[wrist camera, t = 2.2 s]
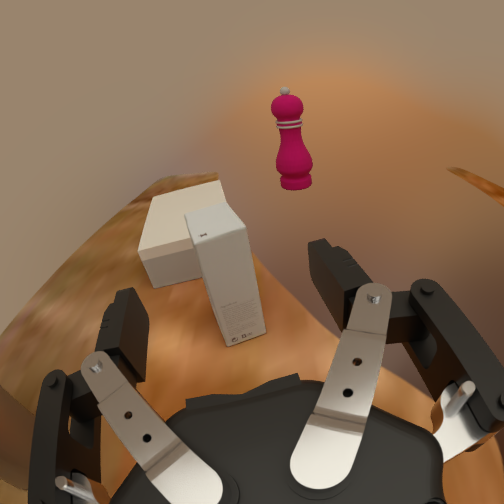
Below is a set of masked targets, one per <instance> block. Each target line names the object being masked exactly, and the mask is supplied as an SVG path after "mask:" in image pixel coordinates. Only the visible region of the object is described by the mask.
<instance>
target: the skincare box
mask: <svg viewBox="0 0 504 504" xmlns="http://www.w3.org/2000/svg"><path fill="white" fill-rule="evenodd" d="M184 217H185V221H186V224H187V228H188V231H189V235H190V238H191V242H192V245H193V249H194V252H195V255H196V258H197V262H198V265H199V268H200V271H201V274H202V278H203V281H204V284H205V287H206V290H207V293H208V296H209V300H210V303H211V306H212V309H213V312H214V314H215V317H216V320H217V322H218V325H219V328H220V330H221V333H222V335H223V338H224V340H225V343H226V345H227V346H232V345H235V344H238V343H240V342H243V341H246V340H248V339H251V338H254V337H257V336H259V335H262V334H265V333H266V328H265V322H264V317H263V312H262V307H261V302H260V296H259V291H258V285H257V280H256V275H255V270H254V265H253V259H252V254H251V249H250V244H249V238H248V233H247V228H246V226H245V225H244V223H243V222H242V221H241V220H240V218H239V217H238V216H237V215H236V213H235V212H234V211H233V210H232V209H231V208H230V206H229V205H228V204H227V202H223V203H219V204H215V205H212V206H209V207H205V208H202V209H199V210H195V211H192V212H188V213H185V214H184Z"/></svg>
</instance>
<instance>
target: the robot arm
mask: <svg viewBox="0 0 504 504" xmlns="http://www.w3.org/2000/svg"><path fill="white" fill-rule="evenodd" d="M308 255H309V268H310V275H311V278H312V281H313V283H314V285H315V287H316V288H317V290H318V292H319V294H320V295H321V297H322V299H323V301H324V302H325V304H326V306H327V307H328V309H329V311H330V313H331V315H332V316H333V318H334V320H335V322H336V323H337V325H338V327H339V329H340V331H341V332H342V335H341V338H340V341H339V344H338V347H337V350H336V353H335V356H334V359H333V362H332V364H331V367H330V370H329V373H328V375H327V378H326V381H325V382H321V381H314V380H300V378H299V375H298V373H295V374H292V375H289V376H285V377H282V378H278V379H274V380H271V381H268V382H266V383H264V384H263V385H261V386H259V387H257V388H255V389H253V390H250V391H248V392H246V393H244V394H237V395H228V394H211V395H206V396H201V397H196V398H190V399H186V408H184V409H182V410H180V411H178V412H177V413H175V414H174V415H172V416H171V417H170V418H169V419H168V420H167V421H166V422H165V421H164V420H163V419H162V418H161V416H160V415H159V414H158V413H157V412H156V411H155V410H154V409H153V408H152V407H151V406H150V404H149V403H148V402H147V401H146V400H145V399H144V398H143V397H142V395H141V394H140V393H139V392H138V391H137V390H136V383H139V382H145V377H146V360H147V346H148V334H149V317H148V314H147V312H146V310H145V308H144V306H143V304H142V302H141V300H140V299H139V297H138V295H137V293H136V291H135V289H134V288H133V287H131V288H127V289H123V290H119V291H117V293H116V296H115V300H114V303H112V304H110V305H109V306H108V308H107V309H106V311H105V312H104V315H103V319H102V323H101V327H100V328H101V329H100V331H99V335H98V339H97V343H96V347H95V352H93V353H91V354H90V355H88V356H87V357H86V358H85V359H84V361H83V363H82V365H81V370H79V371H77V372H75V373H73V374H71V375H68V376H67V375H66V374H65V373H64V372H63V371H62V370H54V371H52V372H50V373H49V374H48V375H47V376H46V377H45V378H44V380H43V383H42V387H41V391H40V396H39V401H38V406H37V411H36V417H35V416H34V415H33V414H32V413H30V412H29V411H28V410H27V409H26V408H24V407H23V406H22V405H21V404H20V403H19V402H18V401H17V400H16V399H14V398H13V397H12V396H11V395H10V394H9V393H8V392H7V391H6V390H5V389H4V388H3V387H2V386H1V385H0V479H2V480H3V481H5V482H7V483H9V484H11V485H13V486H15V487H17V488H20V489H23V490H28V504H447V502H446V500H445V497H444V493H443V484H442V473H443V464H445V463H446V462H448V461H450V460H452V459H453V458H455V457H456V456H458V455H460V454H461V453H463V452H464V451H465V452H471V451H474V450H476V449H477V448H479V447H480V446H481V445H483V444H484V443H485V442H486V441H488V440H489V439H490V438H491V437H493V436H494V435H495V434H496V433H497V432H499V431H500V430H501V429H502V428H503V427H504V368H503V366H502V365H501V363H500V362H499V360H498V359H497V358H496V356H495V355H494V353H493V352H492V350H491V349H490V348H489V346H488V345H487V343H486V342H485V341H484V340H483V338H482V337H481V335H480V334H479V333H478V331H477V330H476V329H475V327H474V326H473V325H472V324H471V322H470V321H469V320H468V319H467V317H466V316H465V315H464V313H463V312H462V311H461V310H460V308H459V307H458V306H457V305H456V304H455V302H454V301H453V300H452V299H451V298H450V297H449V295H448V294H447V293H446V292H445V291H444V290H443V288H442V287H441V286H440V285H439V284H438V283H437V282H435V281H433V280H429V279H419V280H417V281H415V282H414V283H413V284H412V285H411V289H410V291H400V292H391V291H390V290H389V288H387V287H386V286H384V285H382V284H379V283H373V282H372V280H371V279H370V278H369V276H368V275H367V274H366V273H365V272H364V271H363V269H362V268H361V267H360V266H359V265H358V264H357V262H356V261H355V260H354V259H353V258H352V256H351V255H350V254H349V253H348V251H346V250H344V249H342V248H341V247H339V246H337V247H333V248H332V247H331V245H330V244H329V243H328V242H327V240H326V239H325V238H323V239H319V240H316V241H312V242H309V243H308ZM392 343H402V344H403V346H404V347H405V349H406V351H407V353H408V354H409V356H410V358H411V359H412V361H413V363H414V365H415V366H416V368H417V370H418V372H419V373H420V375H421V377H422V379H423V381H424V382H425V384H426V386H427V388H428V390H429V392H430V393H431V395H432V397H433V399H434V401H435V404H434V406H433V407H432V410H431V420H432V423H433V432H432V433H430V432H429V431H428V430H426V429H424V428H422V427H420V426H417V425H415V424H413V423H410V422H408V421H406V420H404V419H401V418H399V417H397V416H395V415H392V414H390V413H388V412H386V411H384V410H382V409H380V408H377V407H375V406H373V405H371V404H372V400H373V396H374V392H375V388H376V384H377V380H378V376H379V371H380V367H381V362H382V357H383V353H384V347H385V344H392ZM101 415H103V416H104V417H105V419H106V420H107V422H108V423H109V425H110V426H111V428H112V429H113V430H114V432H115V433H116V435H117V436H118V437H119V439H120V440H121V442H122V443H123V444H124V446H125V447H126V448H127V450H128V451H129V452H130V453H131V455H132V456H133V457H134V459H135V460H136V461H137V463H136V464H135V466H134V467H133V469H132V470H131V472H130V473H129V474H128V476H127V477H126V479H125V480H124V481H123V483H122V484H121V486H120V487H119V488H118V490H117V491H116V493H115V494H114V495H113V497H112V498H110V497H109V495H108V492H107V490H106V488H105V487H104V486H103V485H102V484H101V466H100V436H101ZM69 416H71V426H70V434H69V432H68V420H69Z"/></svg>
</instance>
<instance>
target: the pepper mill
mask: <svg viewBox="0 0 504 504" xmlns="http://www.w3.org/2000/svg"><path fill="white" fill-rule="evenodd" d="M280 93H281V94H282V95H281V96H278V97H277V98H275V99H274V100H273V102H272V104H271V111H272V113H273V115H274V116H275V117H276V118H277V121H276V123H277V126H276V127H277V128H279V131H280V135H281V145H280V148H279V152H278V155H277V159H276V168H277V171H278V172H279V173H280V174H281V175H282V176H281V178H280V181H281V186H282V188H284V189H286V190H302V189H305V188H308V187H309V186H311V184H312V180H311V175H310V174H309V172H310V170H311V169H312V166H313V163H312V158H311V156H310V154H309V152H308V150H307V149H306V147H305V145H304V143H303V140H302V136H301V126H302V125H303V124H302V119H301V118H300V116H301V114H302V113H303V104H302V101H301V100H300V99H299V98H298V97H296V96H294V95H288V94H289V93H290V90H289V89H288V88H287V87H282V88H281V89H280Z"/></svg>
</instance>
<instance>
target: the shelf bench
mask: <svg viewBox="0 0 504 504" xmlns="http://www.w3.org/2000/svg"><path fill="white" fill-rule="evenodd" d="M223 202H226V199H225V196H224V193H223V190H222V186H221V183H220V180H217V181H213V182H209V183H205V184H201V185H197V186H193V187H189V188H185V189H181V190H177V191H173V192H170V193H166V194H162V195H159V196H155V197H153V199H152V202H151V205H150V209H149V212H148V215H147V219H146V222H145V226H144V229H143V233H142V236H141V240H140V244H139V248H138V253H139V256H140V258H141V260H142V263H143V265H144V267H145V270H146V272H147V274H148V276H149V279H150V281H151V283H152V285H153V287H154V289H155V288H159V287H164V286H168V285H172V284H176V283H180V282H185V281H189V280H193V279H197V278H201V277H202V274H201V271H200V268H199V265H198V262H197V258H196V255H195V252H194V249H193V245H192V242H191V238H190V235H189V231H188V228H187V224H186V221H185V217H184V214H185V213H188V212H192V211H195V210H199V209H202V208H205V207H209V206H212V205H215V204H219V203H223Z"/></svg>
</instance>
